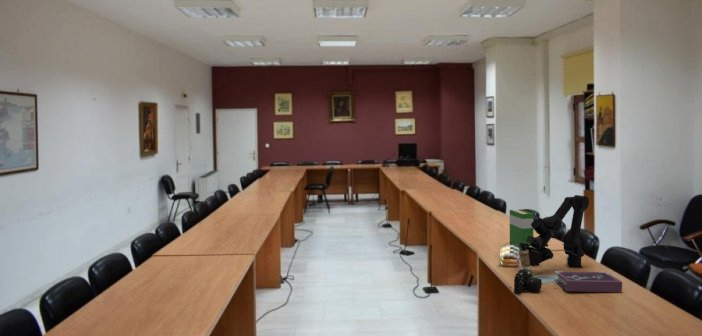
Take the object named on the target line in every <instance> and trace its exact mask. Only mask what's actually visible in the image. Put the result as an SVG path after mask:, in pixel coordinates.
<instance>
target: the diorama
mask: <svg viewBox="0 0 702 336" xmlns="http://www.w3.org/2000/svg"><path fill="white" fill-rule="evenodd" d="M519 252H520V251H519V248H518V247H517V245H516V247H515V246H514V245H510V244H506V245H505V246H504V245H503V246H501V247H500V253H499V266H500V267H501V268H502V267H503V265H504V258H509V257H512V259H513V258H515V259H516V268H519V267H520V255H519Z"/></svg>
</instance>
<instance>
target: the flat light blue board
mask: <svg viewBox="0 0 702 336" xmlns="http://www.w3.org/2000/svg"><path fill="white" fill-rule="evenodd" d="M532 277H537V278H538V279H541V280H542V285H543V284H545V285H547V284H548V283H553V284H554V285H558V284H557V283H556V282H555V281H554V279H558V275H556V274H554V275H553V274H552V275H551V274H550V275H548V274H546V275H544V274H534V276H532Z"/></svg>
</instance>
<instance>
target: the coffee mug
mask: <svg viewBox="0 0 702 336" xmlns="http://www.w3.org/2000/svg"><path fill="white" fill-rule="evenodd" d="M530 247H532V246H530ZM538 256H539V252H535V251H531V252H530V253H529V261H530V265H531V267H538V266H539V265H540V264H538V265H536V266H535V265H534V263H535V261H536V260H537V258H538Z"/></svg>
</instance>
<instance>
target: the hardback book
mask: <svg viewBox="0 0 702 336" xmlns="http://www.w3.org/2000/svg"><path fill="white" fill-rule="evenodd" d="M533 221H534V213H533V212H529V211H527V210H523V209H518V210H514V209H509V245H514V246H515V247H516V245H517V247H518V248H519V252H520V251H522V249H521V248H520V246H519V245H520V243H521V242H524V243H528V245H529V246H531V245H530V243H529V242H526V239H527V236H532V237H534V229H533V228H532V226H531V223H532V222H533Z"/></svg>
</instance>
